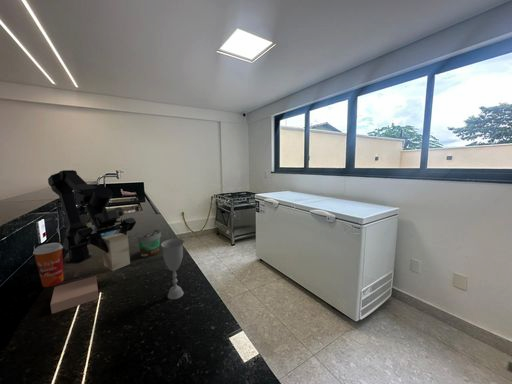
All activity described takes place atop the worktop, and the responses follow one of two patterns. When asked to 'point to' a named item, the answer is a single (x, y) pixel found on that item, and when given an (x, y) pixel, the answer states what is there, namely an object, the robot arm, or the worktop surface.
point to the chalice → (173, 263)
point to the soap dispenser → (107, 233)
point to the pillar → (116, 251)
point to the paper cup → (49, 263)
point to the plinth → (74, 294)
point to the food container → (150, 244)
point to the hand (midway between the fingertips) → (117, 248)
